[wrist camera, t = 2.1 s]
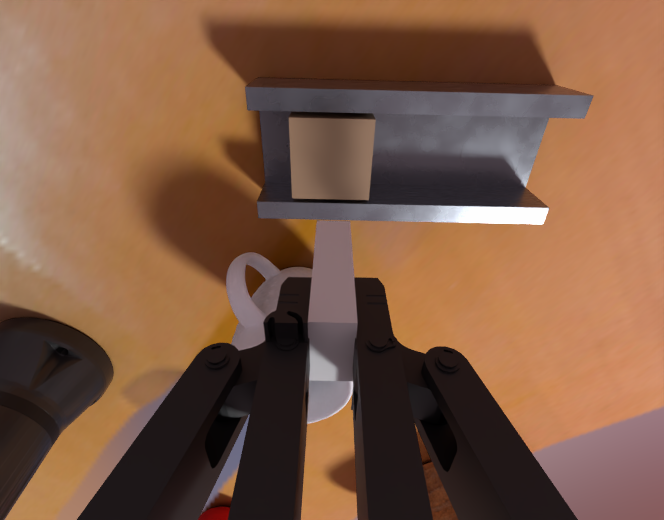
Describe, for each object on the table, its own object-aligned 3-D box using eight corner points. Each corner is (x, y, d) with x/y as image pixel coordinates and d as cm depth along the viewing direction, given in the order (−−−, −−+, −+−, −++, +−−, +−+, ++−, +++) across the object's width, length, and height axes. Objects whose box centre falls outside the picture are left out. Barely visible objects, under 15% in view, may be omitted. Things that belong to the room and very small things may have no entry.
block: (296, 178, 33) (292, 198, 29) (294, 105, 29) (288, 117, 25) (364, 179, 33) (368, 200, 29) (370, 107, 29) (375, 119, 25)
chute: (267, 194, 34) (258, 218, 30) (257, 77, 29) (245, 86, 24) (517, 199, 34) (542, 224, 30) (555, 85, 29) (593, 95, 25)
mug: (207, 251, 38) (156, 344, 27) (293, 201, 35) (274, 284, 24) (288, 337, 45) (274, 438, 34) (366, 302, 42) (377, 402, 31)
